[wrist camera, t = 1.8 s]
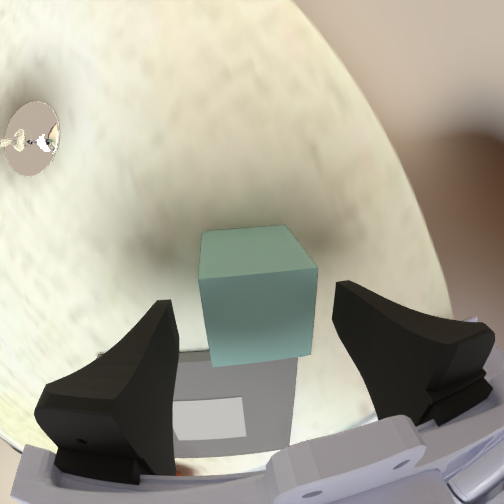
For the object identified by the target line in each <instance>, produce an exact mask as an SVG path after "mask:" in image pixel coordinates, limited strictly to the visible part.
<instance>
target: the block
mask: <svg viewBox="0 0 504 504" xmlns="http://www.w3.org/2000/svg"><path fill="white" fill-rule="evenodd" d="M317 277H318V267H317V265H316V264H315V263H314V261H313V260H312V259H311V258H310V256H309V255H308V254H307V252H306V251H305V250H304V248H303V247H302V246H301V244H300V243H299V242H298V241H297V239H296V238H295V237H294V235H293V234H292V233H291V232H290V230H289V229H288V228H287V227H286V225H275V226H262V227H249V228H237V229H225V230H214V231H203V232H202V241H201V252H200V264H199V276H198V281H199V288H200V295H201V301H202V308H203V314H204V321H205V327H206V333H207V339H208V345H209V350H210V356H211V362H212V367H220V366H231V365H241V364H250V363H259V362H266V361H274V360H281V359H288V358H294V357H300V356H306V355H311V347H312V337H313V327H314V316H315V304H316V292H317Z"/></svg>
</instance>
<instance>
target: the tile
mask: <svg viewBox="0 0 504 504" xmlns="http://www.w3.org/2000/svg"><path fill="white" fill-rule="evenodd" d="M102 355H103V354H98V357H97V358H99V357H100V356H102ZM297 361H298V357H294V358H288V359H281V360H274V361H266V362H259V363H250V364H241V365H231V366H220V367H212V362H211V356H210V351H198V352H183V353H179V360H178V367H177V375H176V382H175V389H174V396H173V445H174V458H203V457H221V456H234V455H244V454H253V453H261V452H268V451H275V450H281V449H284V448H286V447H288V446H289V443H290V434H291V425H292V416H293V406H294V396H295V385H296V374H297Z"/></svg>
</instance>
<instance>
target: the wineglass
mask: <svg viewBox="0 0 504 504" xmlns="http://www.w3.org/2000/svg"><path fill="white" fill-rule="evenodd" d="M59 137H60V129H59V122H58V119H57V116H56V114H55V112H54V110H53V109H52V108H51V107H50V106H49V105H47V104H46V103H44V102H40V101H34V102H30V103H27V104H25V105H24V106H22V107H21V108H20V109H19V110H17V112H16V113H15V114H14V115H13V117H12V118H11V120H10V122H9V124H8V127H7V130H6V134H5V138H0V147H5V154H6V158H7V161H8V163H9V165H10V166H11V168H12V169H13V170H14V171H15V172H16V173H18V174H19V175H22V176H26V177H31V176H35V175H38V174H40V173H41V172H43V171H44V170H45V169H46V168H47V167H48V166H49V164H50V163H51V161H52V160H53V158H54V156H55V154H56V151H57V148H58V144H59Z"/></svg>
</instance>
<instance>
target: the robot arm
mask: <svg viewBox="0 0 504 504" xmlns="http://www.w3.org/2000/svg"><path fill="white" fill-rule="evenodd" d="M332 321H333V323H334V326H335V329H336V331H337V333H338V336H339V338H340V339H341V341H342V343H343V345H344V346H345V348H346V350H347V351H348V353H349V355H350V357H351V358H352V360H353V362H354V363H355V365H356V367H357V368H358V370H359V372H360V374H361V376H362V378H363V380H364V382H365V384H366V387H367V389H368V392H369V394H370V397H371V399H372V402H373V405H374V408H375V410H376V413H377V417H378V420H379V421H376V422H373V423H370V424H367V425H364V426H360V427H357V428H354V429H350V430H347V431H343V432H340V433H336V434H332V435H328V436H324V437H320V438H316V439H311V440H307V441H304V442H300V443H297V444H294V445H291V446H288V447H286V448H284V449H282V450H281V451H279V452H277V453H275V454H274V455H273V456H272V457H271V458H270V460H269V462H268V463H267V465H266V470H263V471H256V472H247V473H238V474H226V475H210V476H176V470H175V459H174V445H173V396H174V389H175V382H176V375H177V367H178V360H179V334H178V330H177V325H176V321H175V316H174V312H173V307H172V302H171V299H170V300H157V301H156V302H155V303H154V304H153V306H152V307H151V308H150V309H149V310H148V311H147V313H146V314H145V315H144V316H143V317H142V318H141V320H140V321H139V322H138V323H137V324H136V325H135V326H134V327H133V328H132V329H131V330H130V331H129V332H128V333H127V334H126V335H125V336H124V337H123V338H122V339H121V340H120V341H119V342H118V343H117V344H116V345H115V346H113V347H112V348H111V349H110V350H108V351H107V352H106V353H105V354H103V355H102V356H100V357H99V358H97V359H96V360H94V361H93V362H91V363H90V364H88V365H87V366H85V367H83V368H82V369H80V370H78V371H76V372H74V373H72V374H70V375H68V376H66V377H63V378H61V379H59V380H56V381H54V382H51V383H49V384H46V386H45V388H44V390H43V392H42V394H41V397H40V399H39V401H38V403H37V406H36V408H35V411H34V416H35V419H36V421H37V423H38V424H39V426H40V427H41V429H42V430H43V431H44V432H45V433H46V434H47V435H48V437H49V438H50V439H51V440H52V441H53V442H54V443H55V444H56V445H57V446H58V451H57V454H55V453H53V452H51V451H49V450H46V449H43V448H39V447H35V446H32V445H28V444H26V445H25V447H24V450H23V453H22V456H21V460H20V463H19V466H18V469H17V472H16V476H15V480H14V483H13V487H12V491H11V495H10V496H11V497H12V498H13V499H14V500H16V501H17V502H19V503H20V504H504V353H503V352H502V351H501V350H500V349H499V348H498V347H497V346H496V345H495V344H494V342H495V334H494V332H493V331H492V330H491V329H490V328H489V327H488V326H487V325H486V324H484V323H482V322H477V321H478V318H477V317H476V316H473V317H471V318H468V319H465V320H463V321H456V320H449V319H444V318H439V317H435V316H431V315H427V314H424V313H421V312H418V311H415V310H412V309H409V308H407V307H404V306H402V305H399V304H397V303H395V302H393V301H390V300H388V299H386V298H384V297H382V296H380V295H378V294H376V293H374V292H372V291H370V290H368V289H366V288H364V287H362V286H360V285H358V284H356V283H354V282H352V281H349V280H347V281H340V282H336V289H335V298H334V307H333V315H332Z"/></svg>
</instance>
